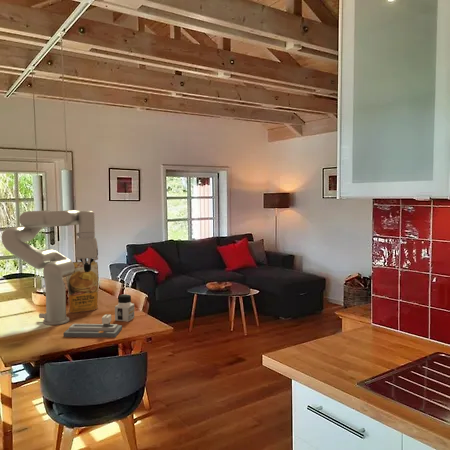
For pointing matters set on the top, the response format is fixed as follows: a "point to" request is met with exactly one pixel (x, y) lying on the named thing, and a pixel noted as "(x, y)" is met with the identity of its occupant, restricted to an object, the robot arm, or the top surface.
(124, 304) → the container
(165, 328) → the top surface
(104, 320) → the fader
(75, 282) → the pancake mix bag
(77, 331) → the console
